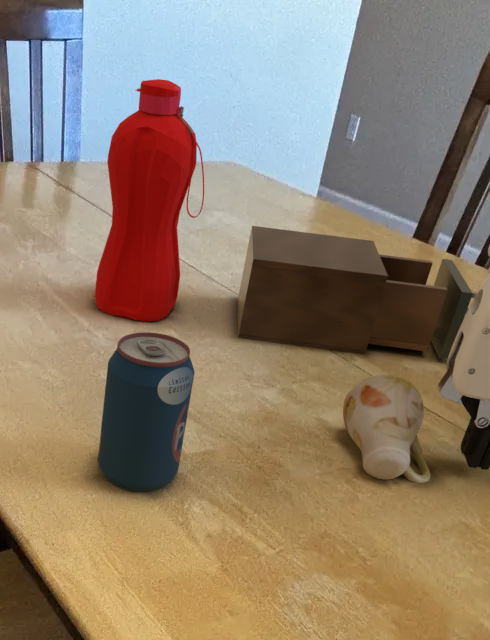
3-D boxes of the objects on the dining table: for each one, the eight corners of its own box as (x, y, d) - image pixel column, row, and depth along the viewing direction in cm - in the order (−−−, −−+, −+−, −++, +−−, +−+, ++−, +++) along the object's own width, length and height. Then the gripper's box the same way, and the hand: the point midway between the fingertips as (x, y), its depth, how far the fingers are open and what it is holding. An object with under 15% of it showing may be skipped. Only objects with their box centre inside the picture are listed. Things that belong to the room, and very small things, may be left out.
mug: (344, 489, 77) (343, 374, 76) (343, 482, 86) (342, 379, 85) (435, 486, 75) (436, 368, 74) (424, 480, 84) (424, 375, 83)
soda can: (188, 494, 74) (211, 363, 67) (110, 502, 72) (126, 368, 65) (159, 452, 79) (178, 327, 72) (86, 458, 77) (98, 330, 70)
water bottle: (174, 333, 101) (210, 96, 86) (86, 314, 104) (105, 80, 89) (194, 307, 108) (230, 83, 94) (111, 290, 111) (133, 69, 96)
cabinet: (352, 317, 110) (373, 240, 104) (364, 357, 100) (388, 275, 94) (237, 302, 111) (251, 225, 105) (237, 340, 101) (253, 258, 95)
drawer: (478, 328, 108) (501, 265, 103) (500, 366, 99) (526, 300, 94) (322, 307, 109) (338, 245, 105) (330, 343, 100) (348, 277, 96)
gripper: (469, 265, 66) (398, 470, 77) (672, 291, 65) (571, 495, 76) (450, 236, 72) (386, 430, 83) (635, 259, 71) (546, 452, 82)
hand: (474, 461), depth 80 cm, fingers closed
